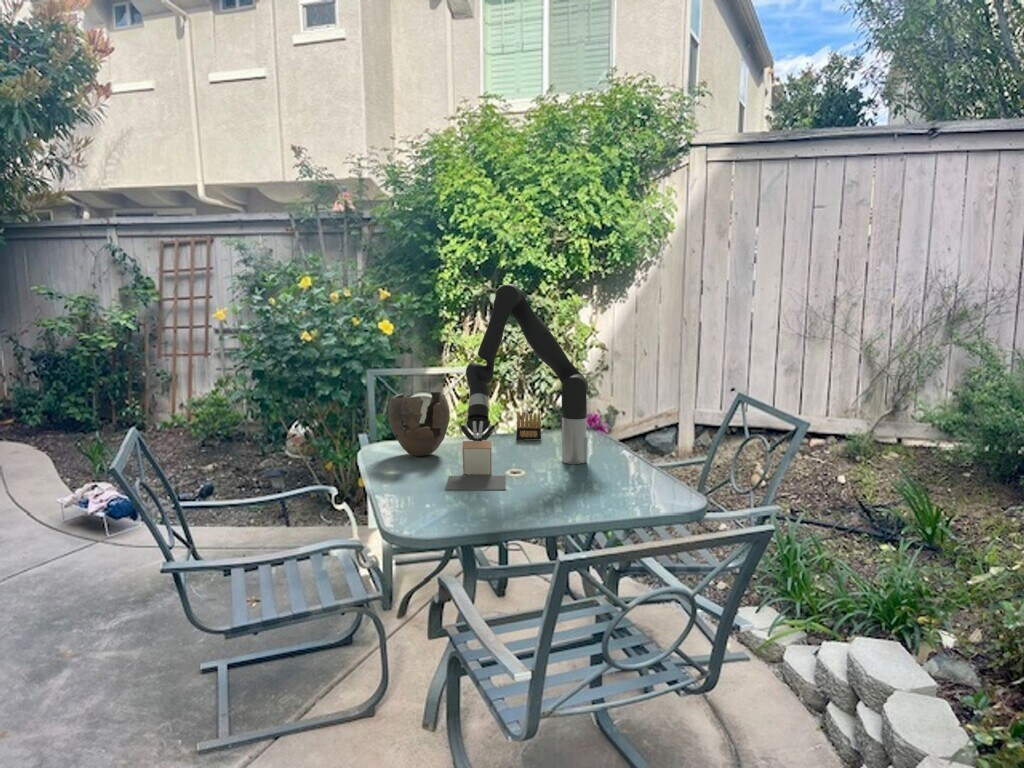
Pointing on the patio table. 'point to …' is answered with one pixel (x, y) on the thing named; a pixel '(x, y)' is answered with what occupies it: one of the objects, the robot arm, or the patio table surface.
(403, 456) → the patio table surface
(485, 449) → the peach block
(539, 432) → the ammunition clip
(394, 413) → the clay pot
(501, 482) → the charcoal mat
